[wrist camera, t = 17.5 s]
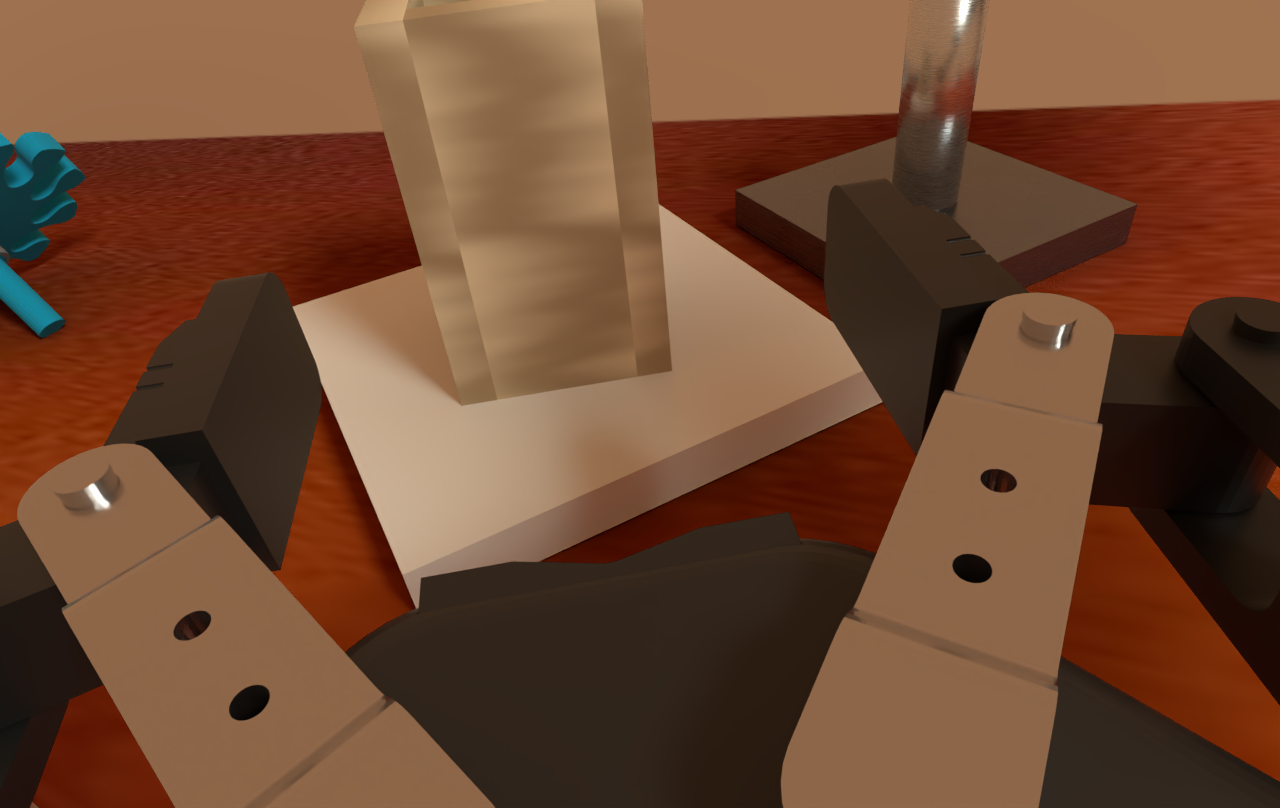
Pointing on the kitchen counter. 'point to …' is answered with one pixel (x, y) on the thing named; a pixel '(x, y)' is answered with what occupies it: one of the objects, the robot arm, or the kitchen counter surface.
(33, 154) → the gear
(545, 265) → the sleeve
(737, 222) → the stand
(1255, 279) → the kitchen counter surface
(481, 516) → the board
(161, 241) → the kitchen counter surface
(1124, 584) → the kitchen counter surface
